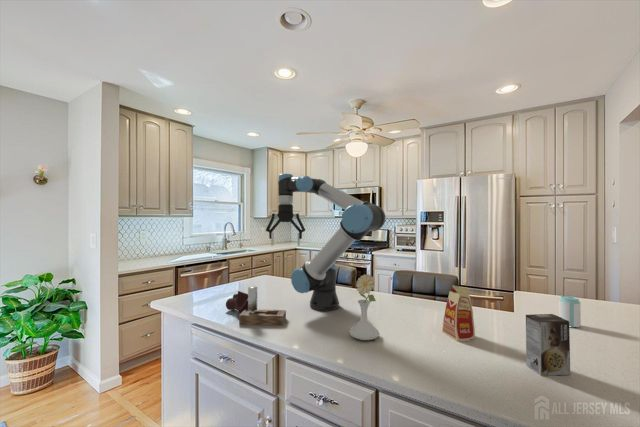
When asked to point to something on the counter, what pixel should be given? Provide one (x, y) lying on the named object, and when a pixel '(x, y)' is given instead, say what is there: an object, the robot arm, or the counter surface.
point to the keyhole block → (262, 317)
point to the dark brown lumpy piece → (238, 302)
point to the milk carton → (459, 315)
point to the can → (570, 310)
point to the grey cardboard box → (548, 344)
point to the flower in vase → (364, 310)
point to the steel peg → (252, 299)
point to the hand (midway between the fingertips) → (285, 245)
